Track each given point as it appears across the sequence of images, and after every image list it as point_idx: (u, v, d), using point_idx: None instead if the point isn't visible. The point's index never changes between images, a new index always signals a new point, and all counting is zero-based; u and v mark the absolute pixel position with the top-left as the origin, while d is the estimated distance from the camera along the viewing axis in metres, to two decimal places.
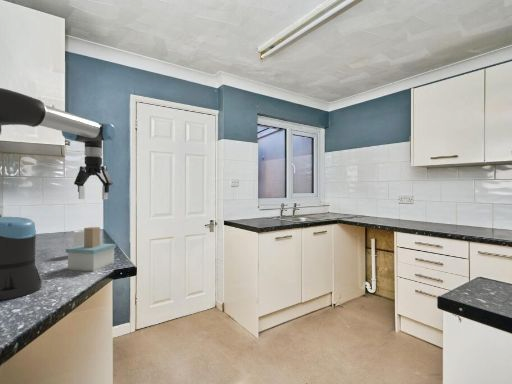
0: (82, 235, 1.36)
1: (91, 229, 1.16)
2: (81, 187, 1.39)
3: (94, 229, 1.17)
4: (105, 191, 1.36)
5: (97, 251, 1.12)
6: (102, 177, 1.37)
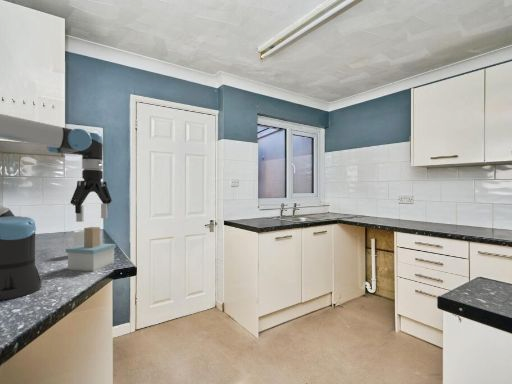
0: (82, 235, 1.36)
1: (91, 229, 1.16)
2: (102, 205, 1.25)
3: (94, 229, 1.17)
4: None
5: (97, 251, 1.12)
6: (82, 194, 1.13)
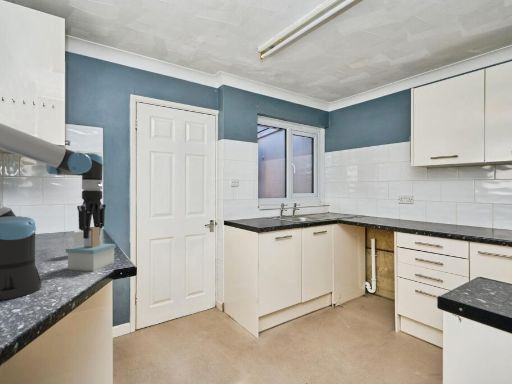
0: (82, 235, 1.36)
1: (91, 229, 1.16)
2: None
3: (94, 229, 1.17)
4: None
5: (97, 251, 1.12)
6: (86, 218, 1.15)
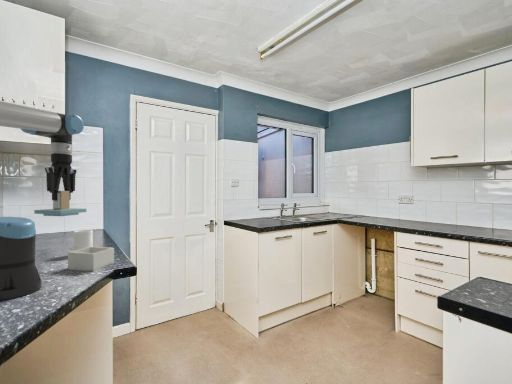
0: (82, 235, 1.36)
1: (60, 191, 1.17)
2: None
3: (63, 192, 1.18)
4: None
5: (65, 212, 1.14)
6: (55, 181, 1.17)
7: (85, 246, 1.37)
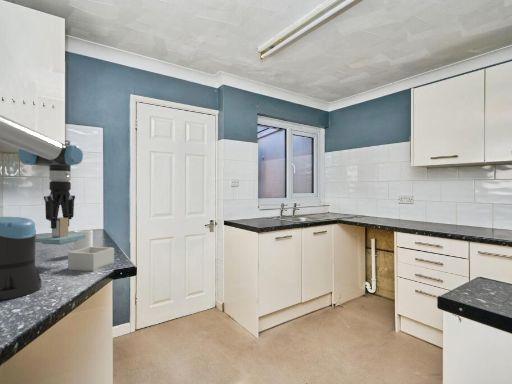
0: None
1: (59, 219, 1.18)
2: None
3: (62, 219, 1.19)
4: None
5: (64, 241, 1.14)
6: (53, 209, 1.17)
7: (85, 246, 1.37)
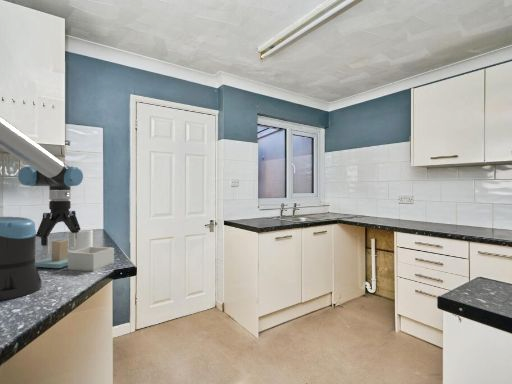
0: (82, 235, 1.36)
1: (58, 243, 1.17)
2: (70, 234, 1.26)
3: (61, 243, 1.18)
4: None
5: (63, 265, 1.14)
6: (48, 226, 1.15)
7: (85, 246, 1.37)
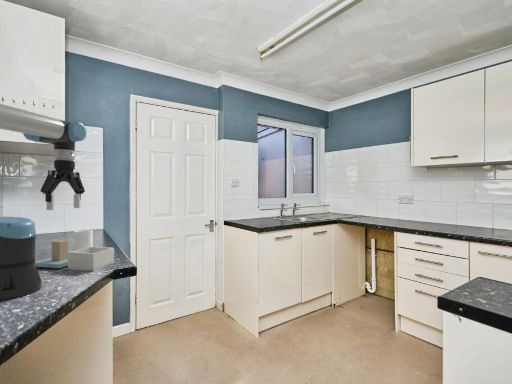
0: (82, 235, 1.36)
1: (58, 243, 1.17)
2: (75, 195, 1.27)
3: (61, 243, 1.18)
4: None
5: (63, 265, 1.14)
6: (53, 183, 1.15)
7: (85, 246, 1.37)
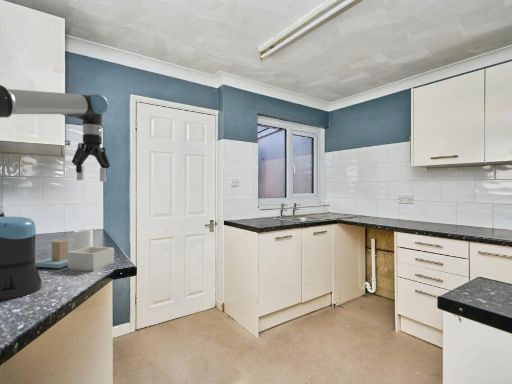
0: (82, 235, 1.36)
1: (58, 243, 1.17)
2: (101, 169, 1.35)
3: (61, 243, 1.18)
4: None
5: (63, 265, 1.14)
6: (82, 156, 1.23)
7: (85, 246, 1.37)
